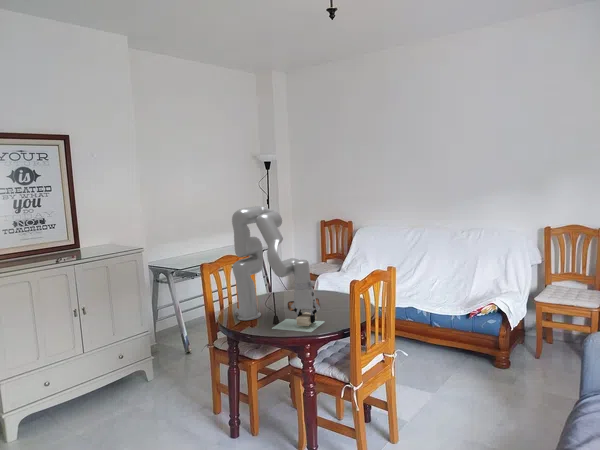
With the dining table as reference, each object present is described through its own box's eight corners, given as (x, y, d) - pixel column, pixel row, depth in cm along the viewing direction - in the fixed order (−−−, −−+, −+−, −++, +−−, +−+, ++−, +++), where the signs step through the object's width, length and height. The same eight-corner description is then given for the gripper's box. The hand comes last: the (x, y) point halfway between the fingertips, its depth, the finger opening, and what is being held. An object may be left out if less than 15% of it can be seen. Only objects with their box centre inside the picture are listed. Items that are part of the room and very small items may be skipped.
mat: (271, 329, 224) (271, 328, 224) (286, 319, 237) (286, 318, 237) (311, 332, 213) (311, 332, 213) (325, 322, 226) (325, 321, 226)
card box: (305, 319, 228) (305, 312, 228) (316, 319, 225) (315, 312, 225) (297, 325, 220) (296, 318, 220) (308, 326, 217) (307, 318, 217)
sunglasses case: (289, 311, 250) (287, 299, 253) (288, 314, 257) (287, 303, 259) (321, 307, 252) (319, 295, 255) (320, 310, 258) (318, 299, 261)
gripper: (322, 284, 220) (326, 320, 222) (291, 283, 228) (295, 318, 230) (315, 288, 213) (319, 325, 215) (283, 287, 222) (287, 323, 224)
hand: (306, 321), depth 223 cm, fingers closed on card box, 6 cm apart
